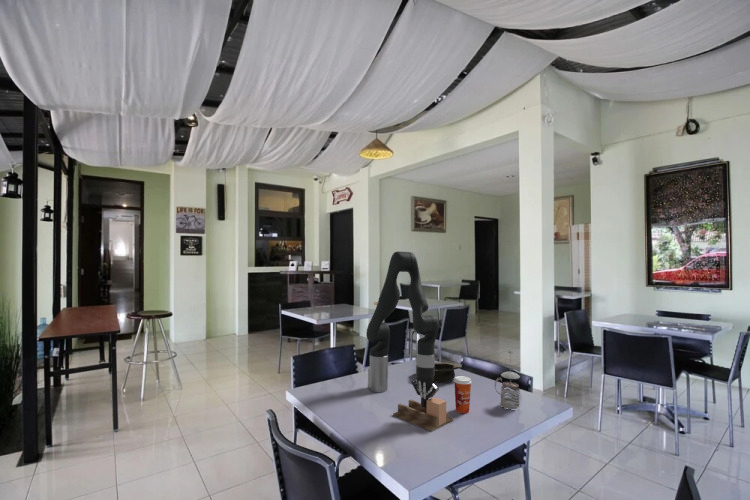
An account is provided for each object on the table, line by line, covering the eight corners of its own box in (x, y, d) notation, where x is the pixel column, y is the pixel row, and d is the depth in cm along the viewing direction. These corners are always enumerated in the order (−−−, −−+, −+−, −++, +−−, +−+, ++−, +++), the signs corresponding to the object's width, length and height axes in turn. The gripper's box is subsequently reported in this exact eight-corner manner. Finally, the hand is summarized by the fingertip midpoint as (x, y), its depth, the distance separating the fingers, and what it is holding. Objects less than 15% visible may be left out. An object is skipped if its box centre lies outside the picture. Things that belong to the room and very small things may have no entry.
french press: (524, 411, 163) (523, 353, 164) (496, 409, 165) (496, 352, 166) (519, 403, 173) (519, 348, 173) (493, 400, 175) (493, 347, 176)
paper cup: (458, 415, 158) (458, 381, 159) (450, 408, 166) (450, 376, 166) (475, 413, 160) (475, 380, 161) (466, 406, 168) (466, 375, 168)
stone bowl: (443, 388, 191) (442, 369, 192) (407, 380, 209) (406, 363, 210) (471, 377, 208) (469, 360, 208) (435, 371, 226) (434, 355, 227)
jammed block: (426, 420, 150) (426, 400, 150) (434, 416, 154) (434, 397, 154) (438, 425, 146) (438, 404, 146) (446, 421, 149) (446, 401, 150)
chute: (393, 415, 157) (393, 406, 157) (414, 406, 167) (414, 397, 167) (431, 431, 143) (431, 421, 143) (452, 421, 152) (452, 411, 153)
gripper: (407, 362, 156) (406, 404, 156) (432, 369, 147) (432, 414, 147) (418, 359, 162) (417, 399, 161) (444, 366, 152) (443, 409, 152)
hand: (424, 406), depth 154 cm, fingers closed
